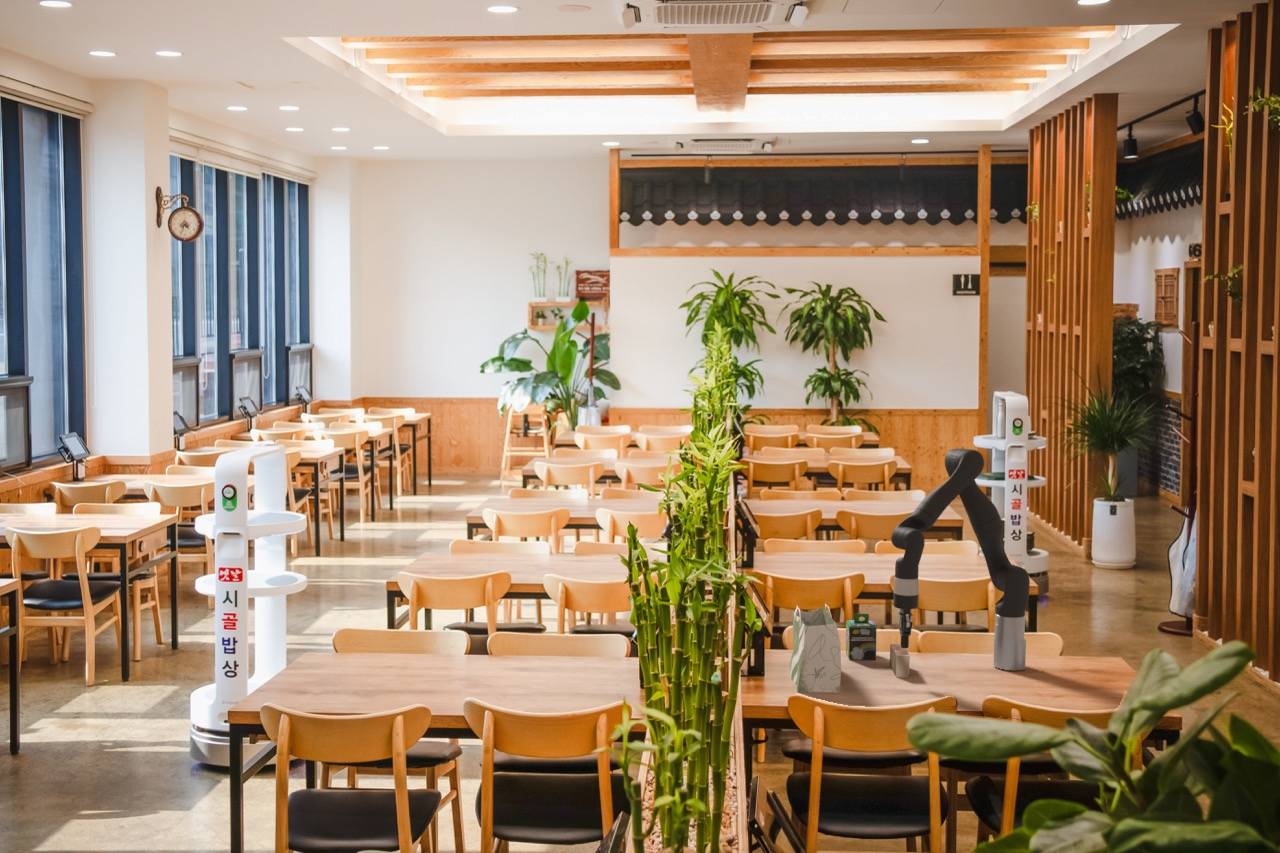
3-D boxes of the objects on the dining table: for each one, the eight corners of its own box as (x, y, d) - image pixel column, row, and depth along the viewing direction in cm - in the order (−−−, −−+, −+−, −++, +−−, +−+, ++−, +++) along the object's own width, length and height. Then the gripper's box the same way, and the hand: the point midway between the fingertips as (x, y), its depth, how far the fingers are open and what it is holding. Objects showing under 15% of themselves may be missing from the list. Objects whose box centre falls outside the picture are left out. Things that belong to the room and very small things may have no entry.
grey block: (909, 677, 406) (902, 665, 420) (909, 655, 406) (902, 644, 419) (896, 677, 406) (889, 665, 420) (896, 655, 406) (890, 644, 420)
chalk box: (872, 653, 435) (873, 609, 434) (876, 660, 426) (877, 616, 425) (844, 653, 435) (845, 609, 434) (848, 660, 426) (849, 615, 425)
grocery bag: (785, 664, 421) (786, 593, 419) (828, 664, 421) (829, 594, 419) (795, 692, 389) (796, 616, 387) (841, 693, 389) (843, 616, 387)
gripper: (921, 596, 392) (920, 653, 394) (915, 587, 406) (913, 642, 407) (896, 596, 393) (895, 652, 394) (890, 587, 406) (889, 641, 407)
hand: (904, 647), depth 401 cm, fingers closed
